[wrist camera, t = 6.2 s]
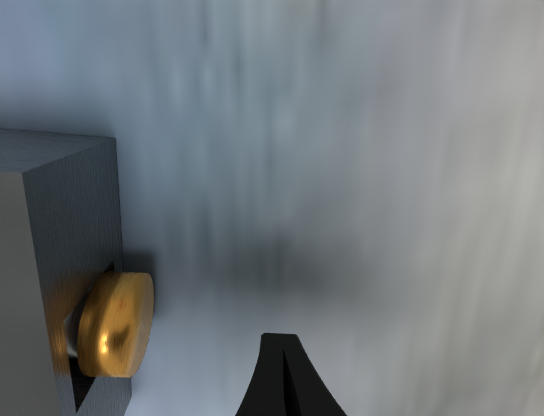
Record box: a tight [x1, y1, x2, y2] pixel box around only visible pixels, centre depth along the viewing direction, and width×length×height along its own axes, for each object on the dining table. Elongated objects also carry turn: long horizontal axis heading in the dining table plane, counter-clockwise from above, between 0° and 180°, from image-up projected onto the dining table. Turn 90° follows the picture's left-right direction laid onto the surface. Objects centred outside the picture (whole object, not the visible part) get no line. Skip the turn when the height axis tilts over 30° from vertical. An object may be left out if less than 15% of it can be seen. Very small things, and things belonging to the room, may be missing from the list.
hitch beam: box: [0, 128, 131, 416], centre depth 13 cm, size 6×14×6 cm, turn 174°
